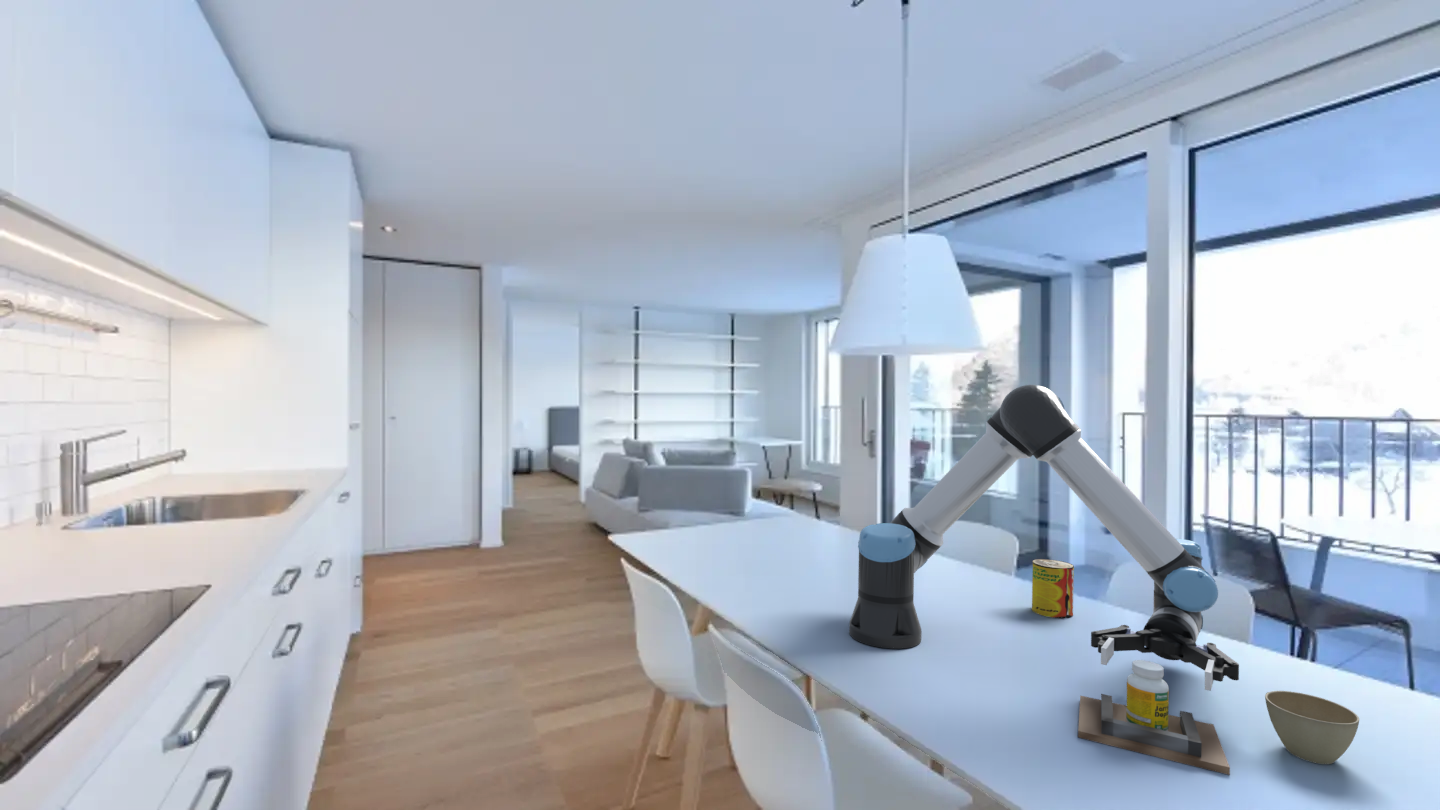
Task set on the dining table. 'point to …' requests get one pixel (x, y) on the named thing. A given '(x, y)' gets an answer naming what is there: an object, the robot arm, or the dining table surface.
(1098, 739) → the u rest
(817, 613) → the dining table surface
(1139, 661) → the supplement bottle
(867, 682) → the dining table surface
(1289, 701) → the beige bowl
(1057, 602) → the yellow red tin can
